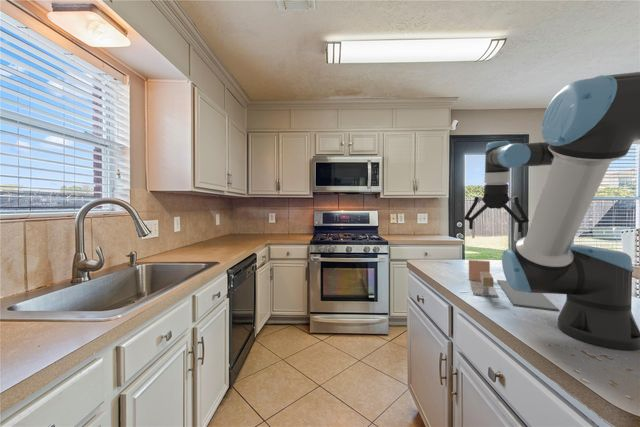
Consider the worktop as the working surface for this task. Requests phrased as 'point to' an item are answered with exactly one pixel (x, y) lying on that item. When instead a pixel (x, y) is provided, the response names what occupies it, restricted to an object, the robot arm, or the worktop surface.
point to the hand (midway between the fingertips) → (493, 238)
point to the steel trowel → (484, 286)
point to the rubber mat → (526, 298)
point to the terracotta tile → (477, 268)
